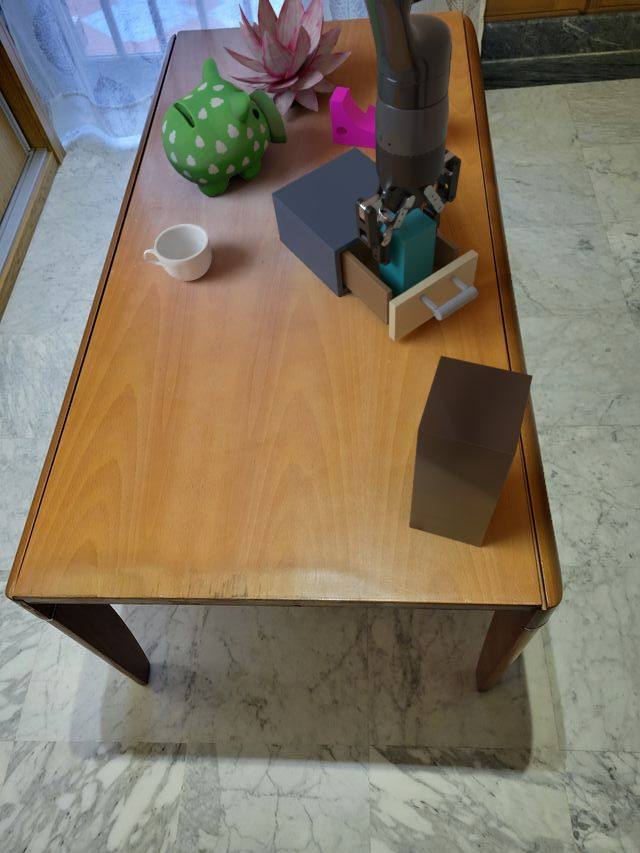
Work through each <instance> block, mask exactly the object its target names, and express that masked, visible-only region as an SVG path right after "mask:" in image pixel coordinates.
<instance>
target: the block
mask: <svg viewBox="0 0 640 853" xmlns="http://www.w3.org/2000/svg"><path fill="white" fill-rule="evenodd" d="M389 215H390V216H391V217H392V218H393V219H394V217H395V214H394V213H391V214H389ZM436 224H437V223H436V222H435V221H434V220H432V219H431V218H430V217H429V216H427V215H426V214H425V213H423V210H422V209H421V210H420V209H418V208H417V209H414V210H412V211H411V212H410V213H409V214H408V215H406V216H405V218H404V220H403V222H402V224H401V226H400V228H399V229H396V230H395V231H394V233H393V236H392V238H391V240H390V243H391V263H390V264H388V265H386V266H384V265H383V264H380V263H379V278H380V280H381V281H382V282H383V283H384V284H385V285H387V286H388V287H389V288H390V289H391V290H392V294H393V295H394V296H395V297H398V296H399V295H401V294H402V293H404V292H406V291H407V290H409V289H410V288H412V287H413V286H415V285H417V284H418V283H420V282H421V281H423V280H425V279H426V278H428V277H429V276H431V275H432V269H433V258H434V247H435V236H436ZM385 229H386V225H385V224H383V226H382V228H381V231H382V232H383V233H384V231H385Z"/></svg>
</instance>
